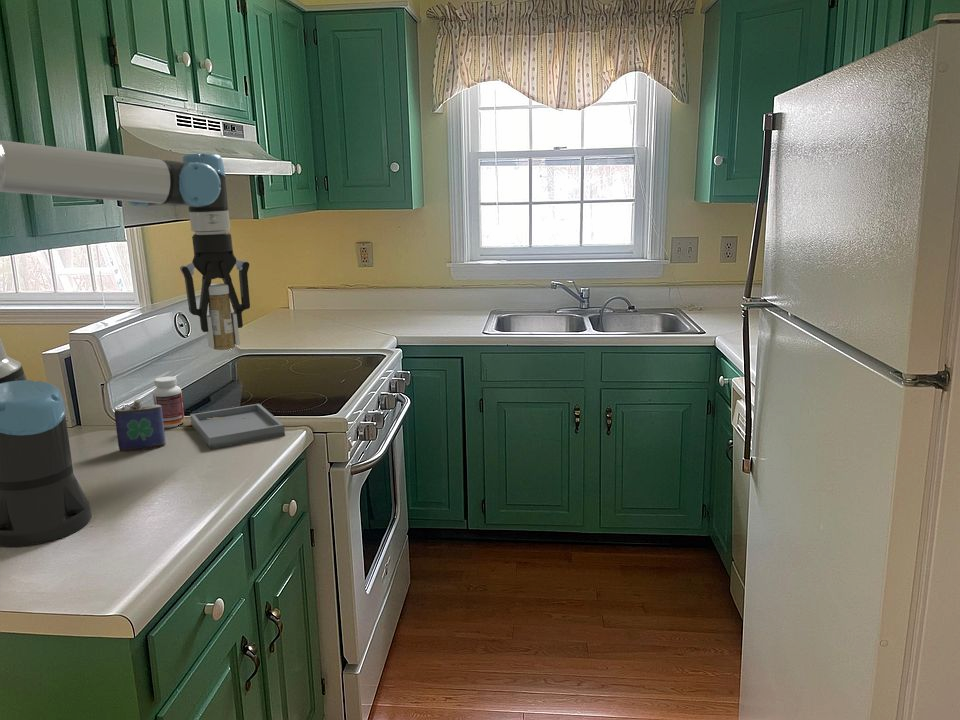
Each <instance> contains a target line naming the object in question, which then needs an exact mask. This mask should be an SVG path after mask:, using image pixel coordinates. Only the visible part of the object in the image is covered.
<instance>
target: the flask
mask: <svg viewBox="0 0 960 720" xmlns="http://www.w3.org/2000/svg"><path fill="white" fill-rule="evenodd" d="M141 402H142V399H141V398H140V399H135V400H133V403H134V404H132V405H131V406H130V405H127V406H125V405H123V406H122V407H120V408H117V409H115V410H114V421H115V427H116V429H115V430H116V434H117V435H116V437H117V443H118V445H117V446H118V450H119V452H120V453H121V452H122V453H126V452H127V453H128V452H137V451H142V450H149V449H150V450H152V449H155V448H156V449H157V448H160V447H161V448H162V447H165V446H166V444H167V441H166V433H165V428H164V424H163V415H162V406H161V405H154V404H151V405H144V406H142V404H141Z"/></svg>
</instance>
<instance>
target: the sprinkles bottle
mask: <svg viewBox="0 0 960 720" xmlns="http://www.w3.org/2000/svg"><path fill="white" fill-rule="evenodd" d="M231 312H232V309H231V301H230V298H229V287H228V285H226V284H224V282H223V283H211V285H210V286H209V301H208V313H209V314H208V315H209V316H211V321H212V330H213V338H214V347H215V348H213V350H216V351H227V350H231V349H234V348H236V344H235V342H234V334H233V323H232V315H231Z"/></svg>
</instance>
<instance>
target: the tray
mask: <svg viewBox="0 0 960 720" xmlns="http://www.w3.org/2000/svg"><path fill="white" fill-rule="evenodd" d="M189 415H190V425H191V424H192V425H191V427H192V428H193V429H194V430H195V432H197V433H196V434H198V436H199V437H200V438H201V440H202V441H203V442H204V443H205V445H206V446H207V447H208V448H209V449H210V450H214V449H219V448H226V447H230V446H237V445H242V444H246V443H252V442H253V443H254V442H258V441H263V440H269V439H274V438H280V437H285V436H286V430H285V424H284V423H283V422H281V421H280V420H279V419H278V418H277V417H275V415H273V414H272V412H270V411H268V410H267V408H265V407H264V406H263V405H262V404H261V403H255V404H254V403H253V404H249V405H242V406H236V407H229V408H223V409H216V410H211V411H210V410H208V411H205V412H198V413H192V414H189ZM213 417H224V418H225V419H207V418H213ZM228 418H229V419H228ZM238 418H239V419H238ZM242 418H246V419H242ZM248 418H249V419H248Z"/></svg>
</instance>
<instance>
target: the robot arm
mask: <svg viewBox="0 0 960 720" xmlns="http://www.w3.org/2000/svg"><path fill="white" fill-rule="evenodd" d="M226 178H227V176H226V171H225V167H224V163H223V157H222V156H221V155H220V154H218V153H187V154H184V155H183V156H182V161H177V160H176V161H174V160H165V159H164V160H163V159H158V158H150V157H142V156H135V155H134V156H133V155H126V154H125V155H124V154H118V153H117V154H116V153H109V152H102V151H93V150H84V149H75V148H67V147H59V146H52V145H51V146H50V145H42V144H33V143H26V142H25V143H24V142H18V141H17V142H16V141H10V140H9V141H8V140H0V193H10V194H11V193H12V194H24V195H40V196H53V197H67V198H78V199H79V198H80V199H81V198H82V199H94V200H106V201H120V202H121V201H122V202H127V203H128V204H129V205H131V206H133V207H147V208H148V207H153V206H154V207H155V206H158V207H159V206H165V207H166V206H168V207H171V206H174V207H175V206H176V207H177V206H178V207H180V206H182V207H188V212H189V213H188V214H189V220H190V221H189V223H190V231H191V232H193V233H194V234H192V237H191V240H192V247H193V258H192V262H190V263H189V264H186V265H181V266H180V267H179V269H180V272H181V274H182V275H183V277H184V283H185V291H186V296H187V297H186V298H187V305H188V311H189V313H190V314H191V315H193V316H198V317H199V324H200V330H201V332H202V333H206V338H207V345H208V348H210V349H214V348H215V347H214V338H213V330H212V321H211V316H210V315H209V314H208V310H209V303H208V301H209V286H210V285H211V284H212V280H216V279H221V280H222V281H223V284H226V285H228V287H229V300H230V305H231V307H232V309H233V311H231V315H232V323H233V334H234V342H235V346H236V345H237V346H238V345H239V346H240V344H241V342H240V335H239V334H240V333H239V329H241V328H243V326H244V323H243V312H244V311H246V310H249V309H250V308H251V302H250V290H249V280H248V279H249V278H248V272H249V268H250V263H249V262H248V261H246V260H240V259H237V258H236V256H235V255H234V250H233V239H232V234H231V233H230V232H228V231H230V229H231V223H230V214H229V205H228V194H227V183H226ZM235 266H236V270H238V278H239V280H238V281H239V290H240V300H241V301H239V299H238V295H237V292H236V290H235V287H234V284H233V280H232V277H231V272H232V270H233V268H234V267H235ZM195 269H196V270H197V271H198V272H199V273H200V274H201V275H202V276H201V277H202V278H201V290H200V298H199V299H200V300H199V307H198V308H197V300H196V291H195V285H194V279H193V275H194V273H195V271H194V270H195ZM240 302H241V303H240ZM66 409H67V408H66V405H65V402H64V400H63V394H62V393H61V391H60V389H59V388H58V387H57V386H55V385H54V384H52V383H49V382H47V381H46V382H45V381H42V380H40V381H39V380H38V381H34V380H31V379H28V378H27V377H26V373H25V371H24V369H23V365H22V363H21V361H18V360H16V359H14V358H13V357H10V356H8V354H7V352H6V349H5V347H4V343H3V340H2V338H1V337H0V547H25V546H26V547H27V546H33V545H38V544H44V543H47V542H51V541H55V540H57V539H61V538H64V537H66V536H69V535H70V534H71V535H72V534H73V533H75V532H77V531H79V530H80V529H82V528H84V527H85V526H86V525H87V524H89V522H91V520H92V509H91V503H90V501H89V499H88V497H87V496H86V493H85V492H84V490H83V488H82V487H81V484H80V483H79V481H78V480H77V478H76V476H75V473H74V468H73V460H72V459H73V458H72V454H71V446H70V439H69V432H68V431H69V430H68V425H67V418H66V416H67V415H66V411H67V410H66Z"/></svg>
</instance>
